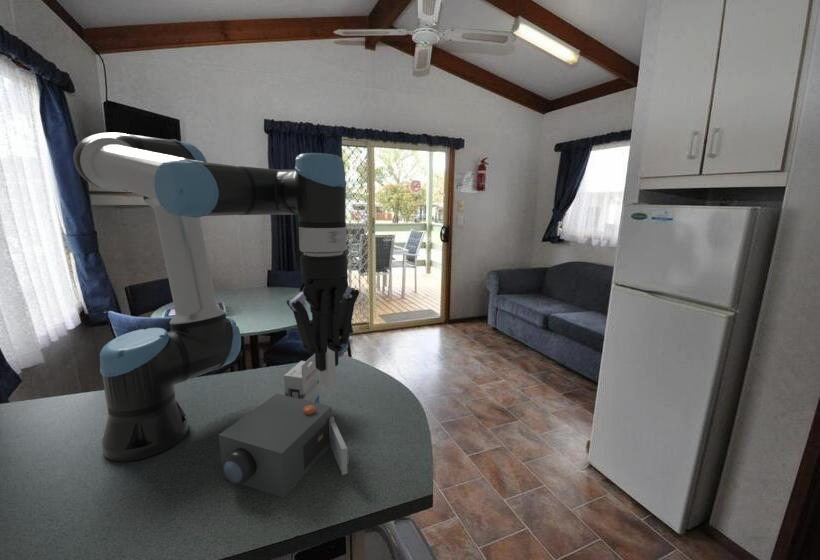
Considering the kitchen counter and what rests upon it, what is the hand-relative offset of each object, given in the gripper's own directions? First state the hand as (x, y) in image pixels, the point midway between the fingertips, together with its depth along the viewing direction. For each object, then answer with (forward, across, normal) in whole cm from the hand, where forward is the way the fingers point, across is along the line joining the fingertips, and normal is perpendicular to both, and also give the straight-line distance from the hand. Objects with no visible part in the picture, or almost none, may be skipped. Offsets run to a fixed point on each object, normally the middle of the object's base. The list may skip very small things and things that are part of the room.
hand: (327, 384), depth 66 cm
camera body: (+20, -5, +11) cm, 23 cm away
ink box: (+20, +8, +24) cm, 32 cm away
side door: (+19, +4, +3) cm, 19 cm away
